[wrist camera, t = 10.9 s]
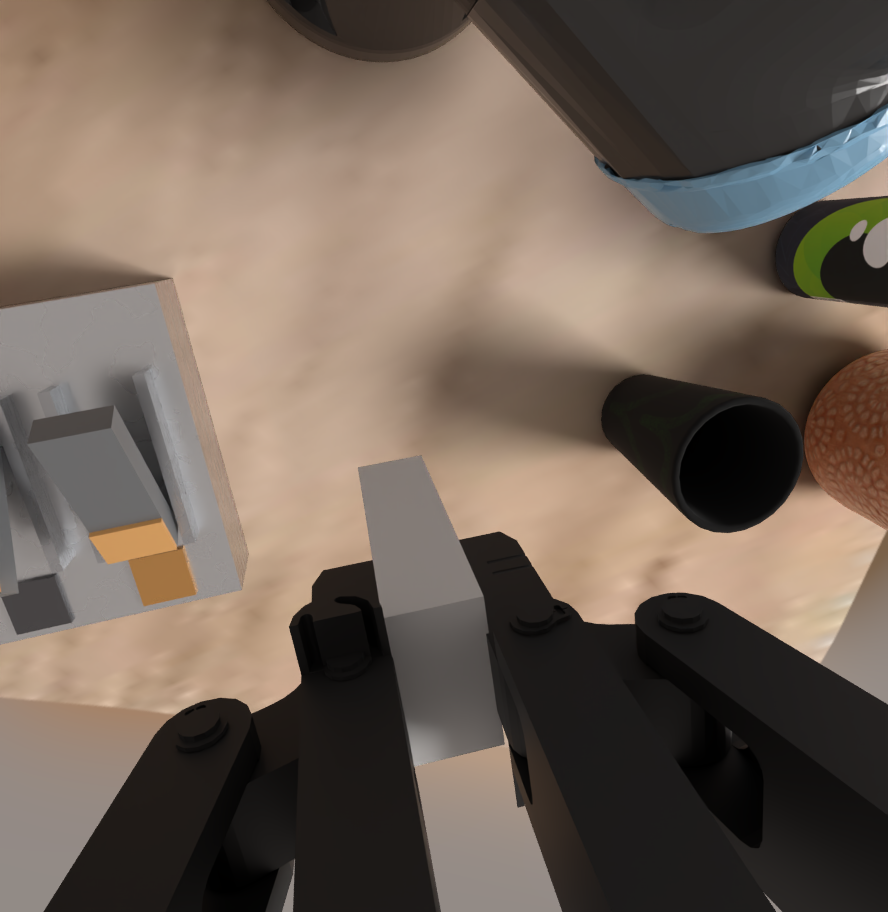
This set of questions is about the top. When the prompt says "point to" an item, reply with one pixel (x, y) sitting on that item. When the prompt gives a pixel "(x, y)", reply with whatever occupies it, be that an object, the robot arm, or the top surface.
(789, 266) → the beverage can
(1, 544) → the switch
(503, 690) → the robot arm
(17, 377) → the switch unit
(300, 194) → the top surface
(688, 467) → the cup
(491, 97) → the top surface
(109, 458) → the switch
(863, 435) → the planter
